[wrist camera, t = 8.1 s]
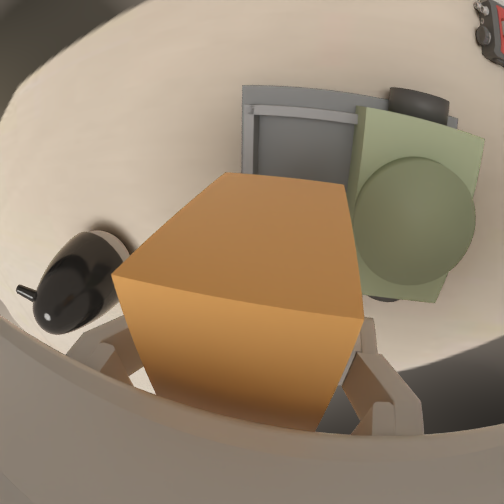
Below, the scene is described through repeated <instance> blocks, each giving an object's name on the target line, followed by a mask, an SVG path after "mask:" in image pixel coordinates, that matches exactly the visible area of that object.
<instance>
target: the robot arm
mask: <svg viewBox="0 0 504 504" xmlns="http://www.w3.org/2000/svg"><path fill="white" fill-rule="evenodd" d="M142 367H143V364H142V361H141V359H140V356H139V354H138V351H137V349H136V346H135V344H134V341H133V339H132V336H131V333H130V331H129V328H128V325H127V322H126V320H125V317H124V315H123V316H120V317H118V318H116V319H113V320H111V321H109V322H107V323H104V324H102V325H100V326H98V327H95V328H93V329H91V330H89V331H86V332H84V333H83V334H82V335H81V336H80V338H79V339H78V340H77V341H76V343H75V344H74V345H73V346H72V347H71V349H70V350H69V351H68V352H67V354H66V355H64V354H63V353H61V352H59V351H57V350H55V349H54V348H52V347H50V346H48V345H47V344H45V343H43V342H41V341H40V340H38V339H36V338H35V337H33V336H31V335H30V334H28V333H27V332H25V331H24V330H22V329H20V328H19V327H17V326H16V325H14V324H13V323H11V322H10V321H8V320H7V319H6V318H4V317H3V316H1V315H0V504H504V424H499V425H495V426H489V427H484V428H479V429H473V430H465V431H458V432H449V433H440V434H427V435H424V427H423V416H422V408H421V401H420V400H419V399H418V397H417V396H416V395H415V394H414V393H413V391H412V390H411V389H410V388H409V386H408V385H407V384H406V383H405V382H404V381H403V379H402V378H401V377H400V376H399V374H398V373H397V372H396V371H395V370H394V368H393V367H392V366H391V365H390V364H389V362H388V361H387V360H386V359H385V358H384V356H383V355H382V354H378V351H377V341H376V332H375V324H374V319H373V318H367V317H364V322H363V324H362V327H361V330H360V332H359V335H358V338H357V340H356V343H355V345H354V348H353V350H352V353H351V355H350V358H349V360H348V363H347V365H346V367H345V370H344V372H343V374H342V376H341V379H340V381H339V383H338V385H342V388H343V390H344V391H345V393H346V395H347V397H348V399H349V401H350V403H351V404H352V406H353V408H354V410H355V412H356V414H357V415H358V417H359V419H360V421H361V422H360V423H359V424H358V426H357V427H356V428H355V430H354V431H353V432H352V434H351V435H344V434H332V433H321V432H312V431H304V430H297V429H290V428H283V427H277V426H271V425H266V424H261V423H255V422H251V421H246V420H241V419H237V418H233V417H228V416H224V415H220V414H216V413H213V412H209V411H205V410H202V409H198V408H195V407H191V406H188V405H185V404H181V403H178V402H175V401H172V400H169V399H166V398H163V397H160V396H157V395H155V394H152V393H149V392H146V391H144V390H141V389H139V388H136V387H134V386H133V384H132V382H131V380H130V378H129V376H130V375H131V374H133V373H134V372H136V371H137V370H139V369H140V368H142Z"/></svg>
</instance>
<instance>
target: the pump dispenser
mask: <svg viewBox="0 0 504 504" xmlns="http://www.w3.org/2000/svg"><path fill="white" fill-rule="evenodd" d="M129 256H130V255H129V252H128V250H127V249H126V247H125V246H124V244H123V243H122V242H121V241H120V240H119V239H118V238H117V237H115V236H114V235H112V234H110V233H108V232H105V231H99V230H95V231H89V232H81V233H79V234H77V235H76V236H74V237H73V238H72V239H71V240H69V241H68V242H67V243H66V244H65V245H64V246H63V248H62V249H61V250H60V251H59V252H58V253H57V254H56V256H55V257H54V258H53V260H52V261H51V262H50V264H49V265H48V267H47V269H46V270H45V272H44V274H43V276H42V278H41V280H40V283H39V285H38V287H37V290H33V289H31V288H28V287H25V286H23V285H18V286H17V288H16V292H17V293H18V294H20V295H21V296H23V297H25V298H27V299H28V300H30V301H32V302H33V314H34V317H35V320H36V321H37V323H38V325H39V326H40V327H41V328H42V329H43V330H45V331H46V332H48V333H50V334H54V335H60V334H66V333H69V332H72V331H75V330H77V329H80V328H82V327H84V326H86V325H88V324H90V323H92V322H93V321H95V320H97V319H98V318H100V317H101V316H103V315H104V314H105V313H107V312H108V311H109V310H110V309H112V308H113V307H114V306H115V305H116V304H117V303H119V299H118V296H117V293H116V289H115V286H114V283H113V280H112V276H111V274H112V273H113V272H114V271H115V270H116V269H117V268H118V267H119V266H120V265H121V264H122V263H123V262H124V261H125V260H126V259H127V258H128V257H129Z"/></svg>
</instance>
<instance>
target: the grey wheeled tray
mask: <svg viewBox="0 0 504 504" xmlns="http://www.w3.org/2000/svg"><path fill="white" fill-rule="evenodd" d="M448 112H449V101H447V100H445V99H442V98H440V97H437V96H433V95H430V94H427V93H423V92H419V91H414V90H409V89H403V88H395V87H391V88H390V95H389V100H387V99H382V98H377V97H371V96H366V95H360V94H353V93H347V92H340V91H332V90H323V89H313V88H302V87H287V86H260V85H242V171H241V173H242V174H255V175H266V176H277V177H287V178H296V179H305V180H313V181H321V182H329V183H336V184H343V185H344V187H345V192H346V197H347V202H348V207H349V212H350V217H351V223H352V229H353V234H354V241H355V247H356V253H357V260H358V267H359V275H360V283H361V291H362V295H368V296H369V297H371V298H373V299H376V300H379V301H383V302H394V301H397V300H399V299H402V300H411V301H419V302H428V303H435V302H436V300H437V298H438V295H439V293H440V291H441V289H442V286H443V284H444V282H445V279H446V277H447V274H448V272H449V271H450V270H451V269H453V268H454V267H455V266H456V265H457V264H458V262H459V261H460V260H461V259H462V257H463V256H464V255H465V253H466V251H467V249H468V248H469V245H470V243H471V241H472V238H473V234H474V229H475V217H476V216H475V207H474V203H473V195H474V191H475V187H476V183H477V179H478V174H479V169H480V164H481V159H482V153H483V147H484V141H485V139H483V138H481V137H478V136H475V135H472V134H470V133H467V132H464V131H461V130H458V129H457V124H458V118H454V117H451V116H448Z"/></svg>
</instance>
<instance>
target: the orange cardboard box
mask: <svg viewBox="0 0 504 504" xmlns="http://www.w3.org/2000/svg"><path fill="white" fill-rule="evenodd" d="M111 276H112V280H113V283H114V286H115V289H116V293H117V296H118V299H119V302H120V305H121V308H122V311H123V314H124V317H125V320H126V322H127V325H128V328H129V331H130V333H131V336H132V339H133V341H134V344H135V346H136V349H137V351H138V354H139V356H140V359H141V361H142V364H143V366H144V368H145V371H146V373H147V375H148V377H149V380H150V382H151V384H152V386H153V388H154V391H155V393H156V395H157V396H160V397H163V398H166V399H169V400H172V401H175V402H178V403H181V404H185V405H188V406H191V407H195V408H198V409H202V410H205V411H209V412H213V413H216V414H220V415H224V416H228V417H233V418H237V419H241V420H246V421H251V422H255V423H261V424H266V425H271V426H277V427H283V428H290V429H297V430H304V431H312V432H315V430H316V428H317V426H318V424H319V422H320V421H321V418H322V417H323V415H324V412H325V411H326V408H327V407H328V405H329V402H330V400H331V398H332V396H333V394H334V392H335V390H336V387H337V385H338V383H339V381H340V379H341V376H342V374H343V372H344V370H345V367H346V365H347V363H348V360H349V358H350V355H351V353H352V350H353V348H354V345H355V343H356V340H357V338H358V335H359V332H360V330H361V327H362V324H363V322H364V310H363V300H362V291H361V283H360V275H359V267H358V260H357V253H356V247H355V241H354V234H353V229H352V223H351V217H350V212H349V207H348V202H347V197H346V192H345V187H344V185H343V184H336V183H329V182H321V181H313V180H305V179H296V178H287V177H277V176H266V175H255V174H242V173H228V172H225V173H224V174H223V175H222V176H220V177H219V178H218V179H217V180H215V181H214V182H213V183H212V184H210V185H209V186H208V187H207V188H206V189H204V190H203V191H202V192H201V193H200V194H198V195H197V196H196V197H195V198H194V199H192V200H191V201H190V202H189V203H188V204H187V205H185V206H184V207H183V208H182V209H181V210H180V211H179V212H177V213H176V214H175V215H174V216H173V217H172V218H171V219H169V220H168V221H167V222H166V223H165V224H164V225H163V226H162V227H160V228H159V229H158V230H157V231H156V232H155V233H154V234H153V235H152V236H151V237H150V238H148V239H147V240H146V241H145V242H144V243H143V244H142V245H141V246H140V247H139V248H138V249H137V250H136V251H135V252H133V253H132V254H131V255H130V256H129V257H128V258H127V259H126V260H125V261H124V262H123V263H122V264H121V265H120V266H119V267H118V268H117V269H116V270H115V271H114V272H113V273H112V274H111Z"/></svg>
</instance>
